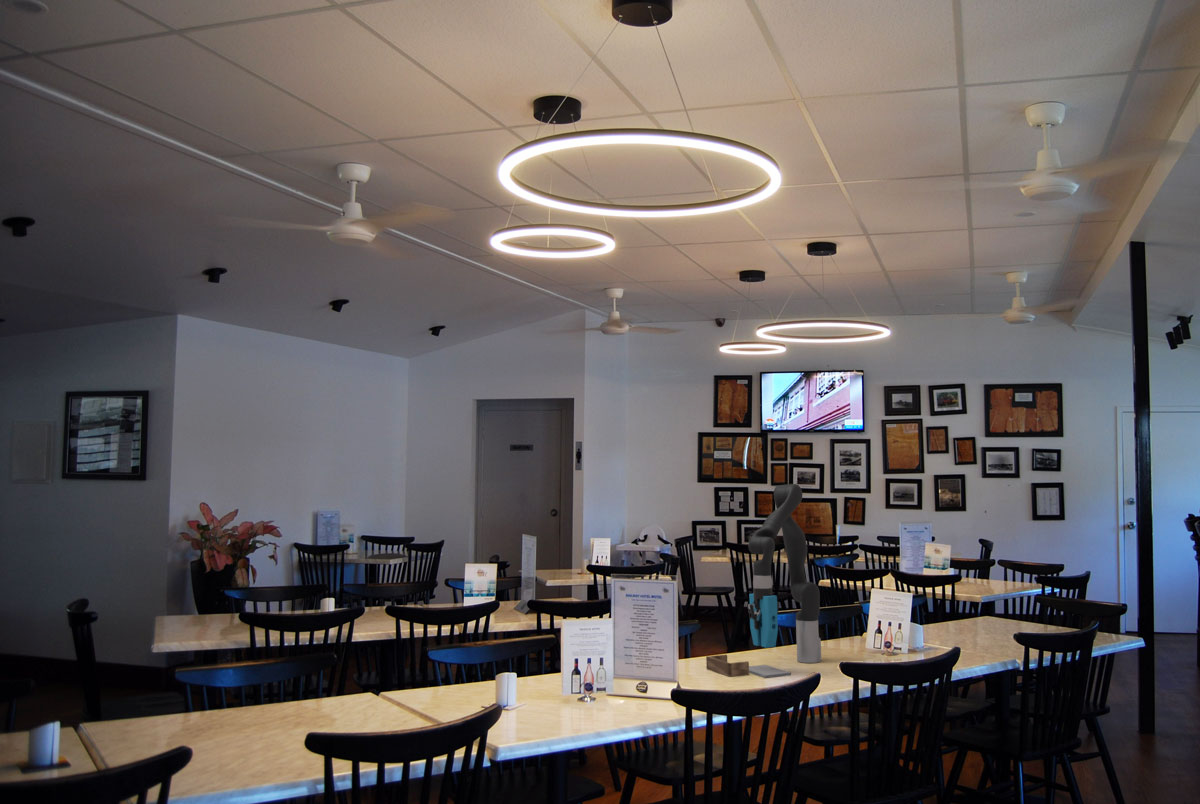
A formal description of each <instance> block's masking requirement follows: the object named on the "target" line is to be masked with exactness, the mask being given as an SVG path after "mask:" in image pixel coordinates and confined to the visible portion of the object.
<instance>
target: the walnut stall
mask: <svg viewBox="0 0 1200 804" xmlns="http://www.w3.org/2000/svg"><path fill="white" fill-rule="evenodd" d="M705 660H706V670H709V671H711V672H714V673H717V674H721V675H723V676H726V677H728V678H732V677H741V676H748V675H750V673H749V666H750V662H749V661H748V660H747V661H746V660H745V661H737V662H728V655H727V654H719V655H709V656H708V655H707V656H706V659H705Z"/></svg>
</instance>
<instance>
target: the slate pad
mask: <svg viewBox="0 0 1200 804" xmlns="http://www.w3.org/2000/svg"><path fill="white" fill-rule="evenodd" d="M749 674H752V675H755V676H758V677H760V678H763V679H768V678H770V679H771V678H777V677H778V678H779V677H785V676H786V677H787V676H792V672H790V671H788V670H787V671H786V670H785V669H784V670H783V669H781V668H778V667H773V666H771V665H768V664H760V665H758V664H757V665H749Z"/></svg>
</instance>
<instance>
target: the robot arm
mask: <svg viewBox="0 0 1200 804" xmlns="http://www.w3.org/2000/svg"><path fill="white" fill-rule="evenodd" d="M773 499H774V503H775V507H776V509H775V510H774V511H773V512H771V513H770V514H769V515H768V516H767V517H766V519H765V521H764V522H763V524H762V526H761V527H760V528H758V530H757V531H756V532H755V533H754V534H752V536H751V537H750V538H749V541H748V546H747V547H748V550H749V551H750V553H752V554H753V555H763V556H762V558H761V559H759V560H754V561H753V564H752V567H753V578H752V579H753V580H752V585H753V586H752V587H753V588H752V589H753V590H752V594H754V602H753V603H752V604H750V603H747V604H746V606H747V611H748V612H747V613H748V617H749V620H750V619H753V620H754V628H755V629H756V630H760V621H759V618H760V616H761V614H762V613H761V608H760V599H763V596H772V595H773V578H772V561H773V558H774V553H775V548H776V544H775V540H774V539H776V538H777V536H778V534H779V533H780V531H781V533H782V537H783V543H784V549H785V554H786V559H787V565H788V572H789V580H790V581H789V582H790V592H791V596H792V598H793V599H794V601H795V602H797V603H799V604H801V606H800V610H799V611H797V612H796V613H795V627H796V628H795V629H796V630H795V633H796V657H797V658H796V660H797V662H798V663H804V664H814V663H815V664H816V663H820V662H822V640H821V637H820V636H819V615H820V610H821V609H820V608H821V606H820V605H821V604H820V603H821V595H820V594H821V593H820V589H819V586H818V585H817V584H816V583H814V582H811V581H808V580H807V579H806V574H805V563H806V560H807V556H808V545H807V540H806V535H805V533H804V531H803V530H802V528H801V527H800V525H798V523H797V522H796V521H795V520H794V518H793V516H792V514H793V512H794V511H795V510H796V509H797V507H798V506H799V505H800V504H801V502H802V500H803V491H802V487H801V486H800V485H799V484H797V483H788V484H781V485H780V484H779V485H776V486H775V487H774V488H773ZM754 606H755V608H756V609H757V612H756V610H755V612H754ZM779 607H780V603H779V602H777V617H778V615H779V609H780V608H779Z"/></svg>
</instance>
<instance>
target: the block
mask: <svg viewBox="0 0 1200 804" xmlns="http://www.w3.org/2000/svg"><path fill="white" fill-rule="evenodd" d="M777 597H778V596H777V595H774V594H772V596H763V599H760V608H761V613H762V614H761V616H760V618H759V621H760V630H756V629H755V628H754V620H753V619H750V618H749V629H750V633H751V638H752V644H753V646H756V647H757V646H758V647H759V646H761V648H765V649H766V648H767V649H768V648H775V647H776V645H777V638H778V631H779V624H778V619H779V618H778V616H777V603H778V598H777ZM748 599H749V604H752V603H753V602H754V594H753V593H749V598H748ZM755 610H756V612H757V609H756V608H755V606H754V612H755Z"/></svg>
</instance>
